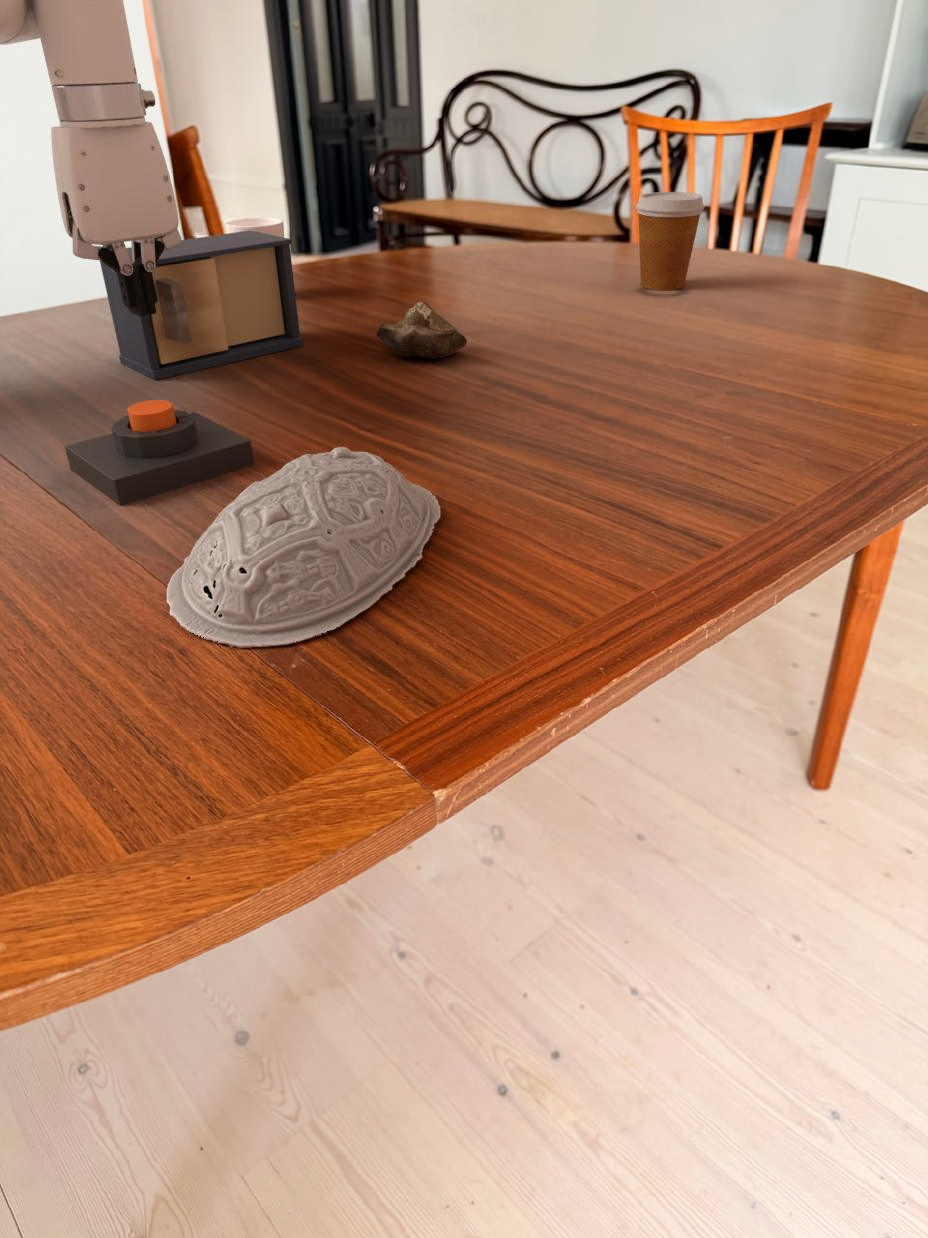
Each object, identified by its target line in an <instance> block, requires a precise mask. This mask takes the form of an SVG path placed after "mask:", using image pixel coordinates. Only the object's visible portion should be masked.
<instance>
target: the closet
mask: <svg viewBox="0 0 928 1238" xmlns="http://www.w3.org/2000/svg"><path fill="white" fill-rule="evenodd" d="M292 244H293V242H292V238H288V237H284V238H283V237H279V236H274V235H270V234H265V233H261V232H256V231H251V230H249V231H242V232H235V233H228V234H227V233H222V234H215V235H208V236H200V237H193V238H185V239H181V243H180V244H178V245H176V246H174V247H172V248H169V249H167V250H164V251H163V252H162V254H161V256H160V257H159V259H158V261H157V262H156V266H157V265H164V264H170V263H176V262H183V261H189V260H195V259H202V258H208V257H212V258H214V260H215V266H216V273H217V279H218V286H219V292H220V299H221V305H222V311H223V318H224V324H225V331H226V337H227V343H228V350H225V351H221V352H216V353H212V354H207V355H203V356H198V357H194V358H189V359H185V360H180V361H176V362H171V363H167V364H159V362H158V357H157V352H156V347H155V342H154V337H153V331H152V326H151V321H150V316H149V314H146V316H138V315H136V314H133V313H131V312H130V311H129V309H128V308H127V307H125V305H124V303H123V300H122V295H121V290H120V286H119V281H118V277H117V273H116V272H114V271H113V270H112V269H111V268H110V267H108V266H107V265H106V264H104V263H103V262H102V261H100V260H99V265H100V269H101V273H102V278H103V281H104V288H105V292H106V295H107V300H108V305H109V309H110V314H111V318H112V319H111V320H112V323H113V328H114V332H115V336H116V340H117V345H118V351H119V354H118V357H119V363H120V364H122V365H123V366H125V367H127V368H129V369H131V370H134V371H136V372H138V373H139V374H142V375H144V376H146V377H148V378H149V379H152V380H154V381H158V380H162V379H167V378H171V377H175V376H179V375H183V374H184V375H185V374H188V373H193V372H197V371H202V370H205V369H210V368H214V367H218V366H224V365H226V364H231V363H235V362H241V361H244V360H249V359H253V358H257V357H262V356H265V355H271V354H275V353H279V352H283V351H287V350H293V349H295V348H300V347H303V346H304V341H303V337H301V332H300V323H299V315H298V306H297V298H296V297H297V296H296V288H295V281H294V271H293V270H294V269H293V262H292V252H291V245H292ZM126 249H127V252H128V255H129V258H130V261H131V263H132V266H133V260H132V246H129V247H126Z"/></svg>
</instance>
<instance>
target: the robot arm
mask: <svg viewBox="0 0 928 1238" xmlns="http://www.w3.org/2000/svg"><path fill="white" fill-rule="evenodd" d="M39 39H40V43H41V48H42V52H43V56H44V60H45V65H46V69H47V74H48V78H49V82H50V85H51V86H50V87H51V90H52V91H51V92H52V95H53V100H54V104H55V108H56V113H57V117H58V120H59V121H58V122H59V126H52V127H51V128H50V133H51V134H50V135H51V136H50V137H51V138H50V139H51V151H52V153H51V154H52V161H53V169H54V170H53V171H54V178H55V186H56V193H57V198H58V204H59V208H60V214H61V219H62V223H63V226H64V229H65V232H66V234H67V235H68V236H69V237H70V238H71V239H72V253H73V255H74V256H75V257H77V258H80V259H83V260H92V261H93V260H94V261H99V262H100V261H102V262H103V263H104V264H106V265H107V266H108V267H110V268H111V269H112V270H113V271H114V272H116V273H117V277H118V281H119V286H120V290H121V295H122V300H123V303H124V305H125V307H127V308H128V309H129V311H130V312H131V313H133V314H136V315H138V316H146V314H150V315H152V314H156V307H155V303H157V295H156V290H155V285H154V280H153V275H152V272H153V271H154V270H155V268H156V262H157V261H158V259H159V257H160V256H161V254H162V252H163V251H164V250H167V249H169V248H172V247H174V246H176V245H178V244H180V243H181V240H182V236H181V234H180V231H179V211H178V207H177V202H176V195H175V193H174V192H175V191H174V187H173V183H172V179H171V176H170V172H169V168H168V164H167V161H166V158H165V155H164V152H163V148H162V145H161V143H160V140H159V137H158V135H157V132H156V130H155V127H154V125H153V122H152V121H146V118H145V116H147V111H146V110H147V109H148V108H150V107H155V105H156V97H155V94H154V92H153V91H152V90H145V89H143V88H142V84H141V83H139V78H138V74H137V69H136V63H135V59H134V58H135V57H134V54H133V47H132V42H131V37H130V30H129V25H128V20H127V15H126V10H125V3H124V0H0V46H2V45H3V46H4V45H12V44H18V43H22V42H27V41H33V40H34V41H35V40H39ZM126 242H130V244H131V246H130V247H132V260H133V266H132V263H131V261H130V258H129V255H128V252H127V249H126V248H127V246H126V244H125V243H126Z"/></svg>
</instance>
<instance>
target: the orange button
mask: <svg viewBox="0 0 928 1238" xmlns="http://www.w3.org/2000/svg"><path fill="white" fill-rule="evenodd" d="M174 410H175V409H174V404H173V403H172V402H171V401H168V400H164V399H153V400H152V399H149V400H143V401H139V402H136V403H134V404H133V403H132V404H131V405H130V406H129V407H128V408H127V416H128V415H129V419H130V424H131V428H132V430H133V431H140V432H148V431H159V430H163V429H166V428H170V427H173V426H174V425H176V424H177V423H176V418H175V413H174Z"/></svg>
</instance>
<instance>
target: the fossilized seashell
mask: <svg viewBox="0 0 928 1238" xmlns="http://www.w3.org/2000/svg"><path fill="white" fill-rule="evenodd" d="M378 327H379V328H378V330H377V333H376V337H377V338H378V339H379V340H381V341H382V343H383V345H384V346H385V347H386V349H387V350H389V351H390V352H391V353H393V354H394V355H395V356H400V357H407V358H408V357H413V356H418V357H422V358H425V359H426V358H427V359H429V360H430V359H433V360H438V359H439V360H440V359H441V358H447V357H450V356H452V355H454V353H457V352H458V351H459V350H461V349H463V348H464V347H466V345H467V344H468V340H467V338H466V337H465V336H464V334H462V333H461V331H460V330H458V329H457V328H456V327H455V326H454V324H453V325H452V323H450V322H449V321H448V320H446V318H444V317H443V316H441V315H440V314H438V313H436V312H435V310H434V309H433V308H432V307H431V306H430V305H429V304H428V303H427V302H426V301H423V300H422V301H418V302H417V303H416V304H415V305H413V307H409V308H408V309H406V311H405V316H404V318H403V319H401V320H400V321H397V322H396V323H394V324H393V323H392V324H390V323H383V322H380V323H379V324H378Z"/></svg>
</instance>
